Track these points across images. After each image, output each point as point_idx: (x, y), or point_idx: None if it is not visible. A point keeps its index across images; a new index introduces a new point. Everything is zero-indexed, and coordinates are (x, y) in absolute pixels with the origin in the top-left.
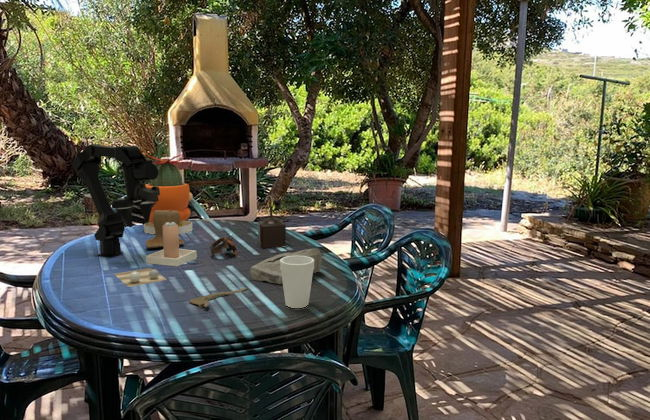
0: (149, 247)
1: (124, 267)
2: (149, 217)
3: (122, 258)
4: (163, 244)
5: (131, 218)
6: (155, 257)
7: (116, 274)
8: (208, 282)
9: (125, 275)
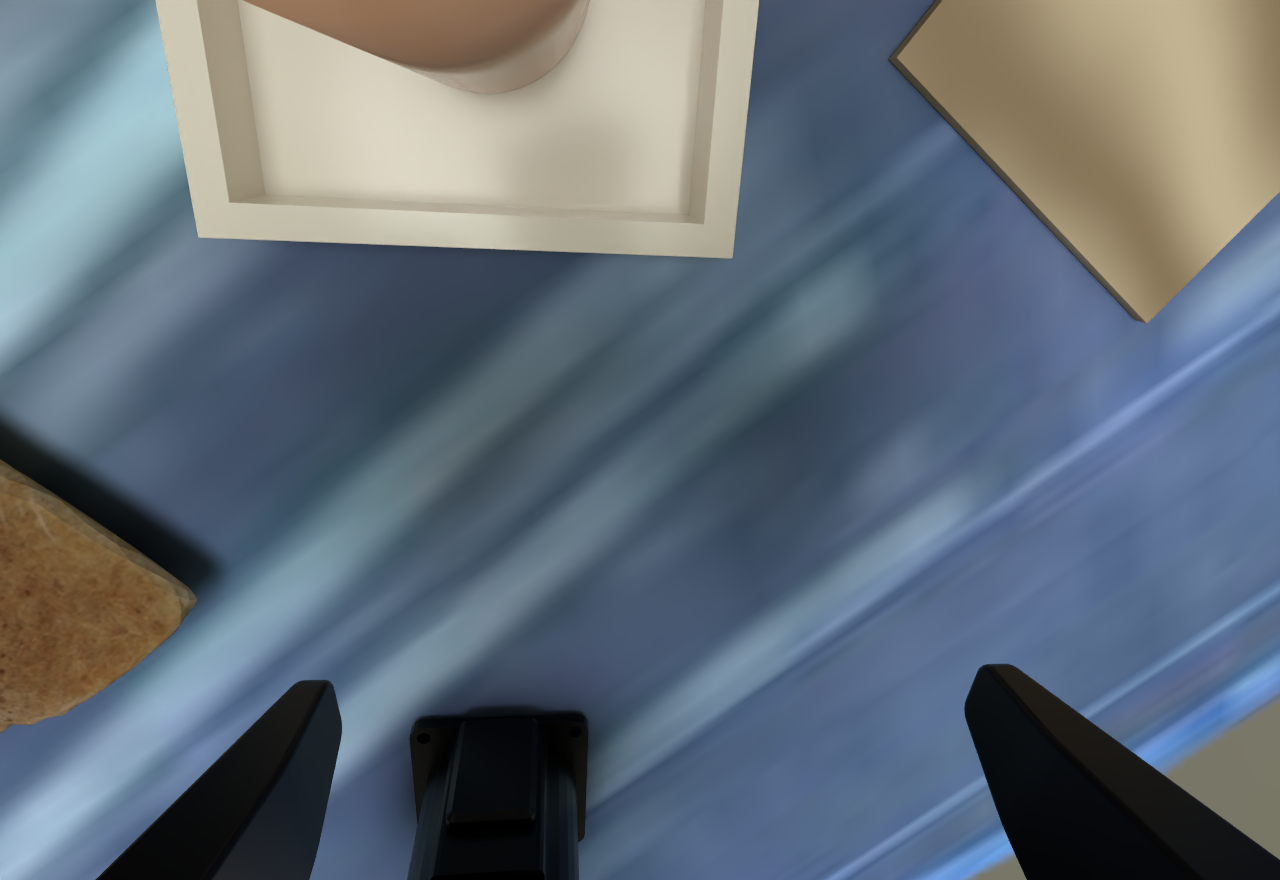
0: (170, 579)
1: (864, 396)
2: (196, 792)
3: (576, 613)
4: (567, 25)
5: (1198, 848)
6: (748, 85)
7: (1166, 283)
8: None
9: (1202, 165)
